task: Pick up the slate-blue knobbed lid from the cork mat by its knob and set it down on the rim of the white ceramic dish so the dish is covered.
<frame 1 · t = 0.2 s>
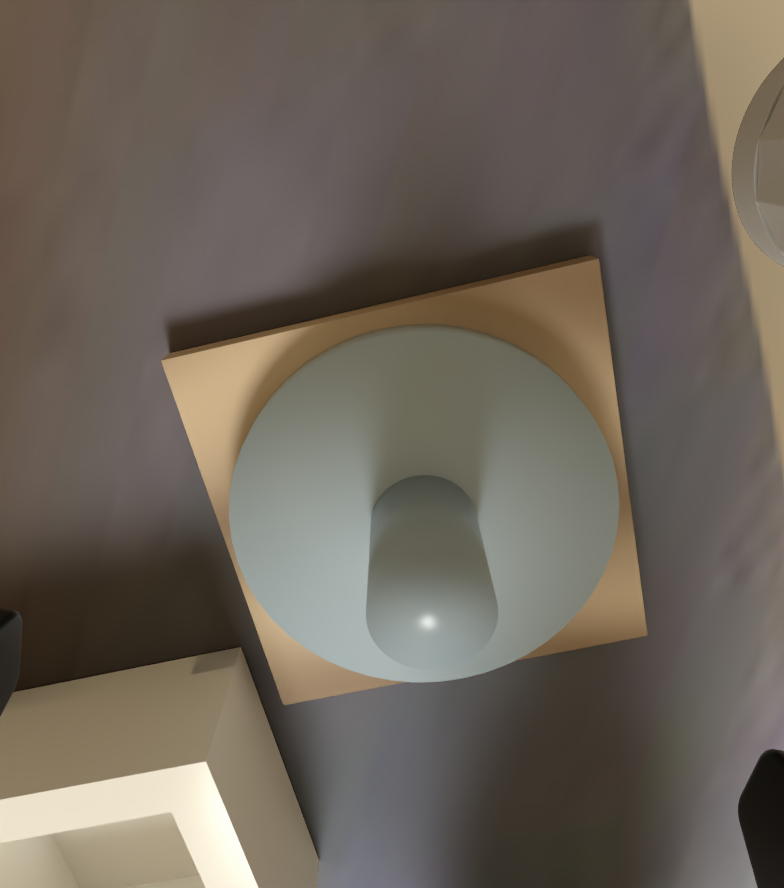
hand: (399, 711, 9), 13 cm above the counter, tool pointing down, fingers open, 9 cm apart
lid: (422, 508, 22), point 1 cm above the counter, touching mat
mat: (421, 496, 23), on the counter
dish: (149, 785, 27), on the counter
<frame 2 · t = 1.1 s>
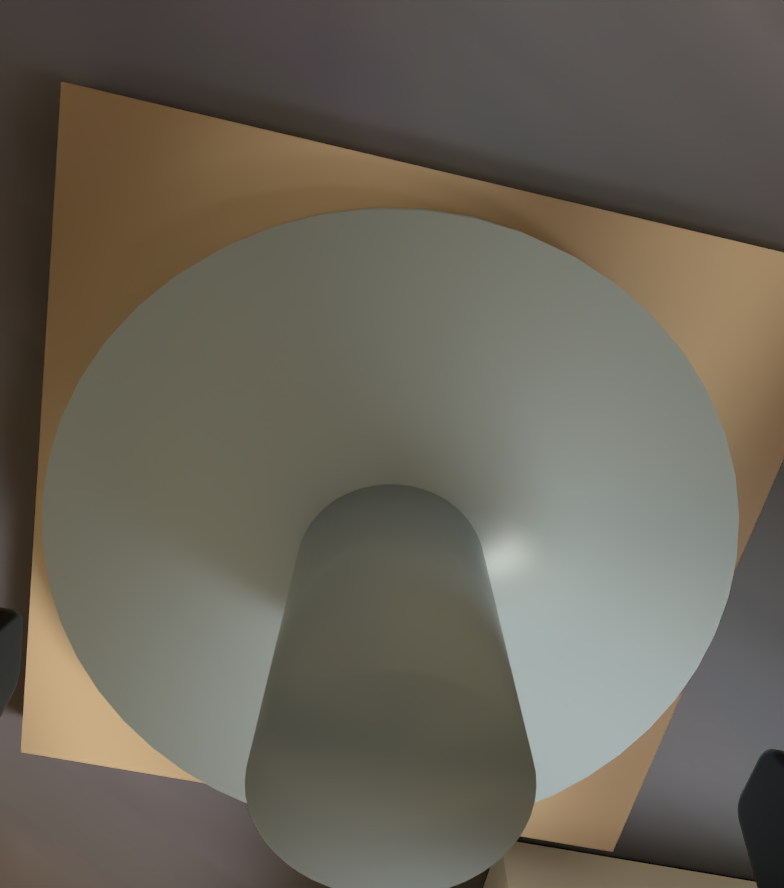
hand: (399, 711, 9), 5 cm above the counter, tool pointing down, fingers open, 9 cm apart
lid: (390, 541, 13), point 1 cm above the counter, touching mat
mat: (390, 520, 14), on the counter
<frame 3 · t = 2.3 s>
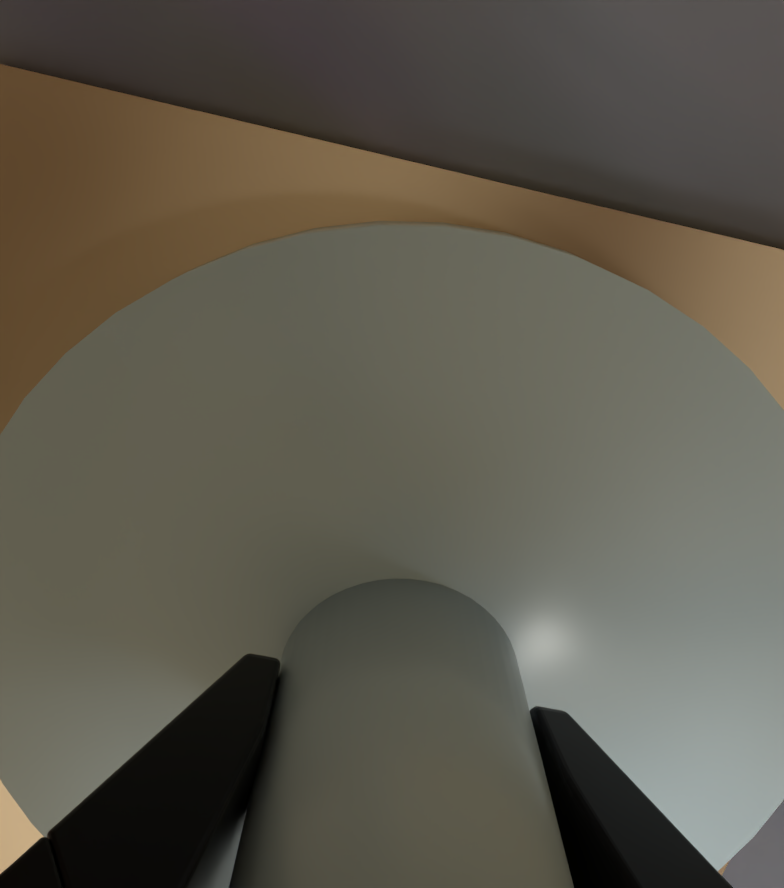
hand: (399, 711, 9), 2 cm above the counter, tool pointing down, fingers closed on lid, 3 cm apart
lid: (398, 636, 10), point 1 cm above the counter, touching gripper, mat
mat: (397, 604, 11), on the counter
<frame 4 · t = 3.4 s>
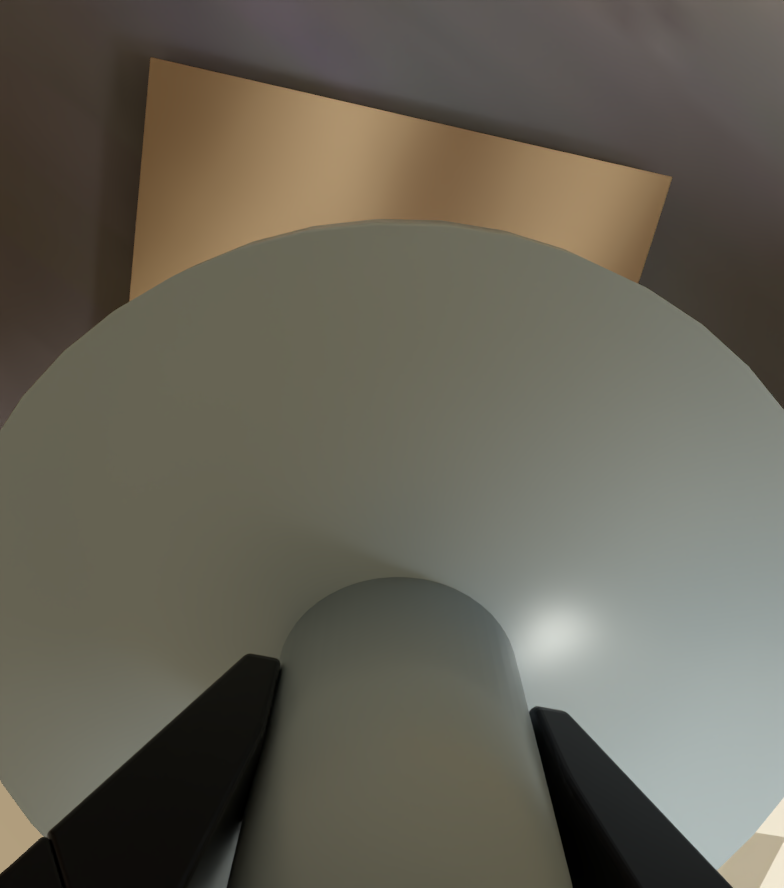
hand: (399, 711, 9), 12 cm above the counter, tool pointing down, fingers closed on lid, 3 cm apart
lid: (397, 634, 10), point 10 cm above the counter, touching gripper
mat: (367, 364, 19), on the counter
dish: (566, 771, 24), on the counter
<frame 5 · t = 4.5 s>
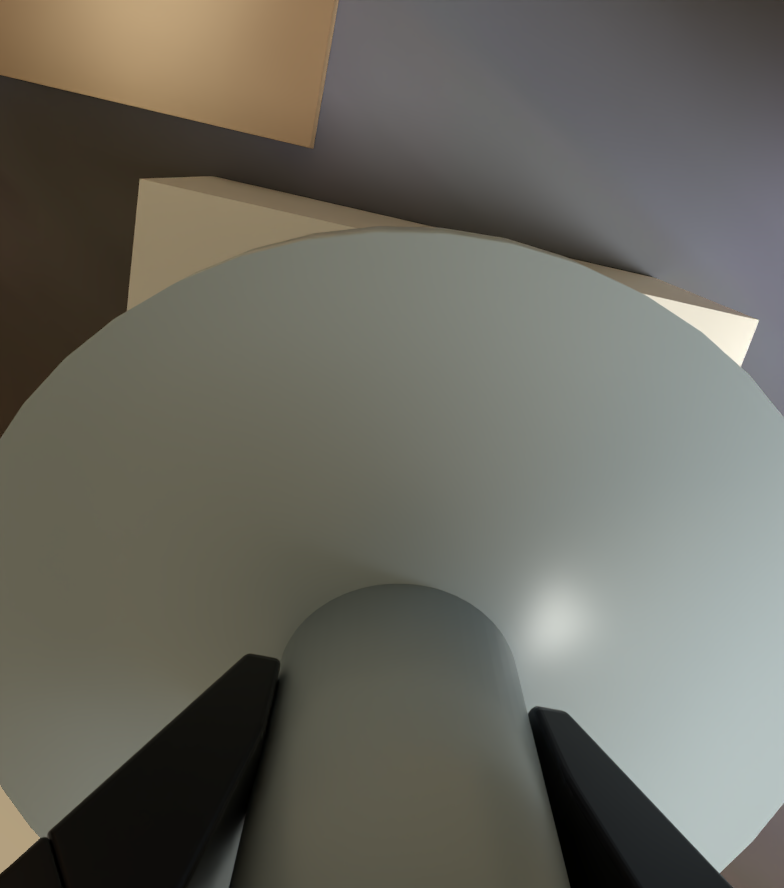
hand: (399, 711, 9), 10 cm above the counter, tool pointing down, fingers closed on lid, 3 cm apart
lid: (397, 640, 10), point 8 cm above the counter, touching gripper
dish: (390, 437, 18), on the counter
when the fingers open (8 cm above the counter, at t = 5.0 s): lid drops 1 cm, resting on dish.
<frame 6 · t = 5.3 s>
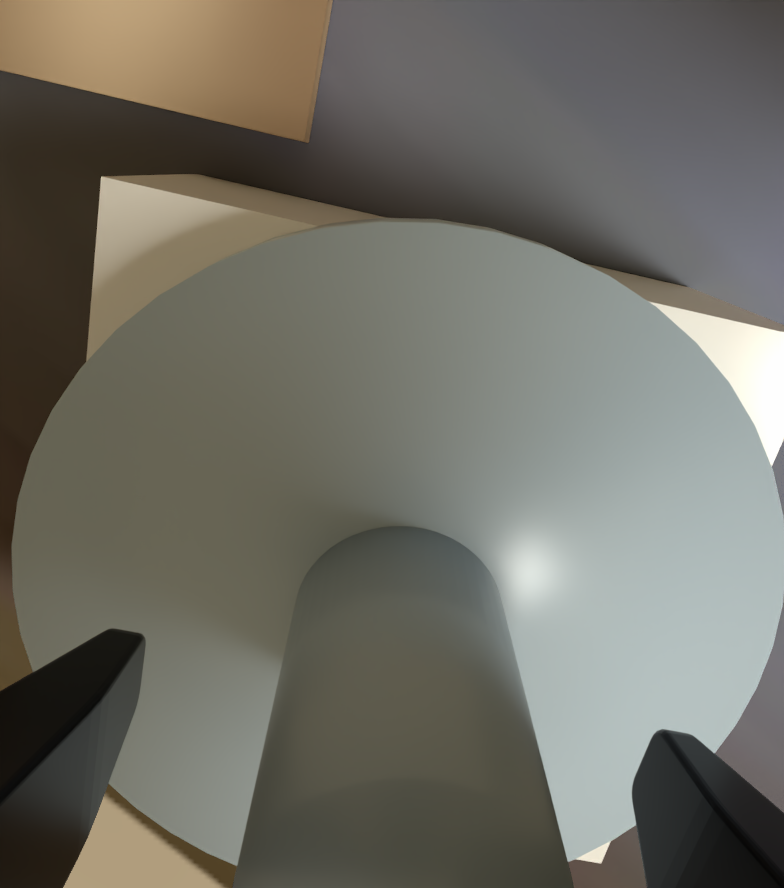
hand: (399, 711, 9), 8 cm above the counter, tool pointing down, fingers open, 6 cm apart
lid: (398, 583, 12), point 5 cm above the counter, touching dish
dish: (394, 462, 16), on the counter
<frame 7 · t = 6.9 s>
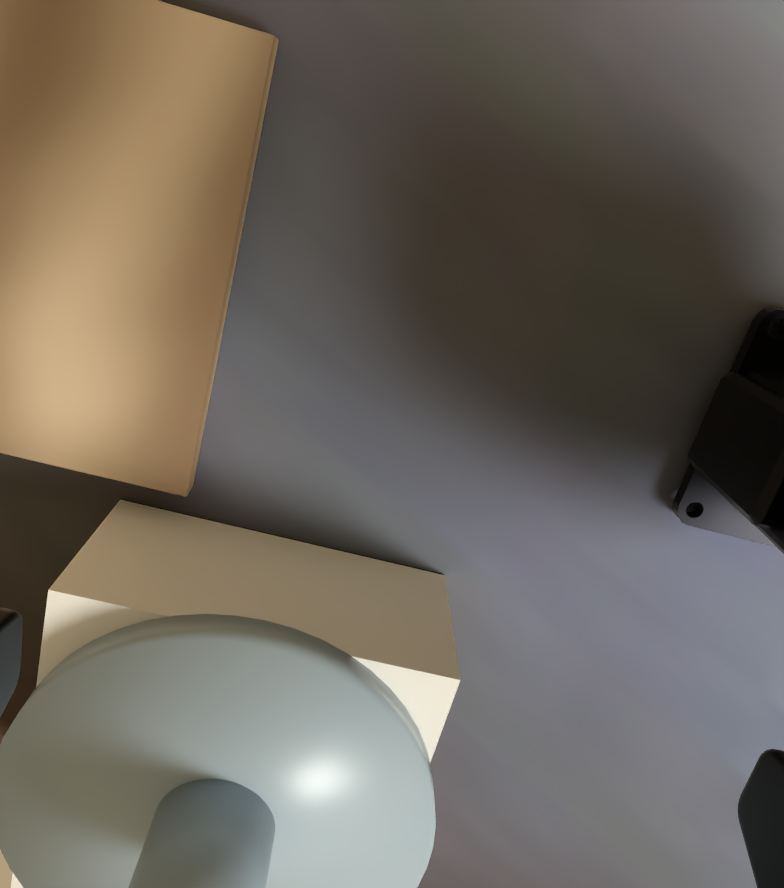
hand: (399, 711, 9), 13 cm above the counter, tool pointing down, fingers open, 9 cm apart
lid: (223, 794, 19), point 5 cm above the counter, touching dish
mat: (2, 224, 19), on the counter
dish: (253, 671, 24), on the counter
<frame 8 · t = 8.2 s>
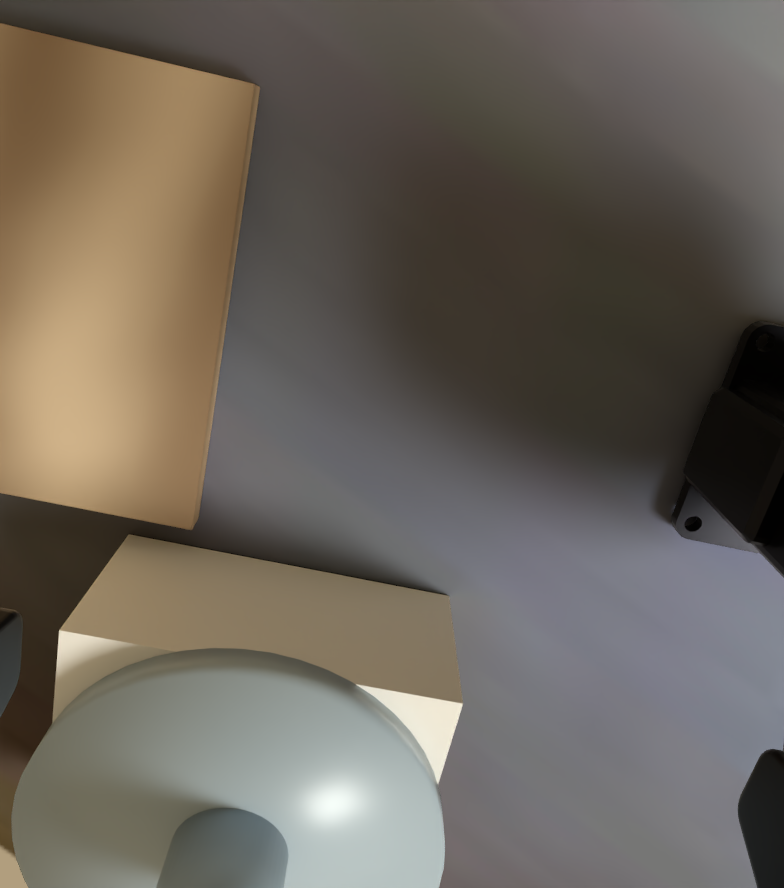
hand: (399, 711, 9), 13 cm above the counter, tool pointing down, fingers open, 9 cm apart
lid: (237, 820, 20), point 5 cm above the counter, touching dish
mat: (3, 276, 20), on the counter
dish: (265, 695, 25), on the counter
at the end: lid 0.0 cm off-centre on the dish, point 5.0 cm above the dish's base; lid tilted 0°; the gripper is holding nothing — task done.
